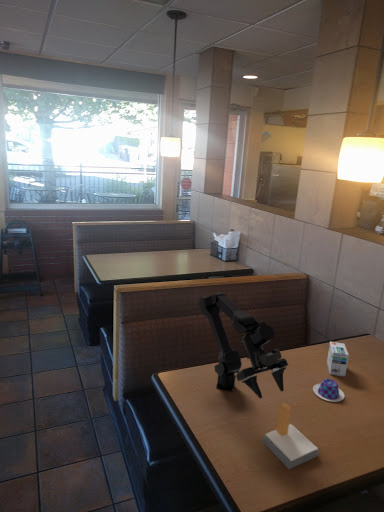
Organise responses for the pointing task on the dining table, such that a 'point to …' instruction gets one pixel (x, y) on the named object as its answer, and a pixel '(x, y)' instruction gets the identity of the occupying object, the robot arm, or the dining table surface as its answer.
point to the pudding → (328, 390)
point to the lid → (289, 436)
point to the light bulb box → (337, 359)
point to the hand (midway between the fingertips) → (272, 394)
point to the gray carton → (284, 459)
